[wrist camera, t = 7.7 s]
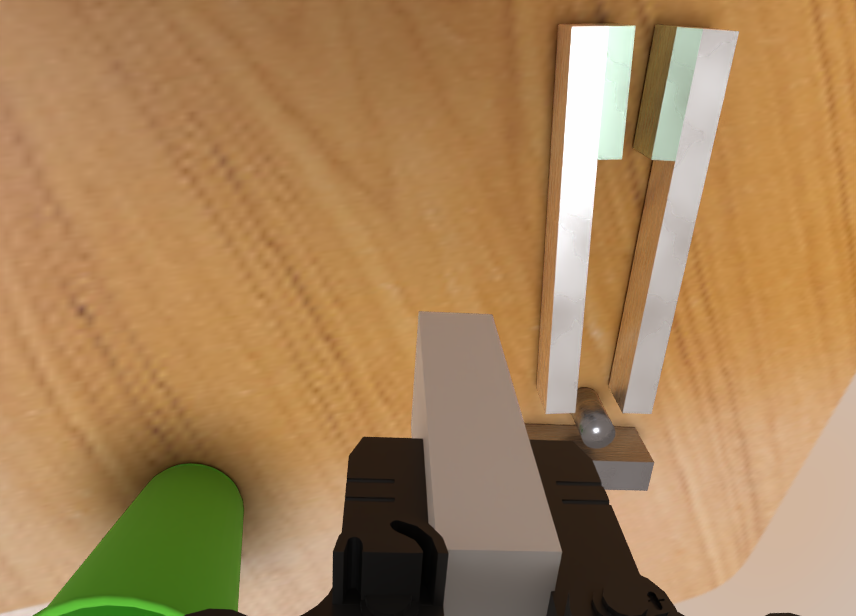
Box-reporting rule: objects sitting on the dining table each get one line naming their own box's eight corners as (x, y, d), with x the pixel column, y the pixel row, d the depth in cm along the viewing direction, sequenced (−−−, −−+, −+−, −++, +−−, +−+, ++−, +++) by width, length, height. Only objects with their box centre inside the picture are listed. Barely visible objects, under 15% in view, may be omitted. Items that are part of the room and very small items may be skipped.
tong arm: (558, 23, 28) (572, 26, 26) (617, 23, 28) (635, 25, 26) (536, 388, 35) (545, 414, 33) (583, 386, 35) (596, 412, 33)
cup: (308, 469, 37) (275, 645, 27) (242, 585, 40) (190, 782, 30) (142, 403, 35) (40, 567, 25) (86, 530, 38) (-25, 722, 28)
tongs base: (579, 18, 29) (599, 21, 26) (722, 28, 29) (756, 32, 26) (518, 451, 37) (527, 487, 34) (629, 454, 38) (647, 490, 35)
